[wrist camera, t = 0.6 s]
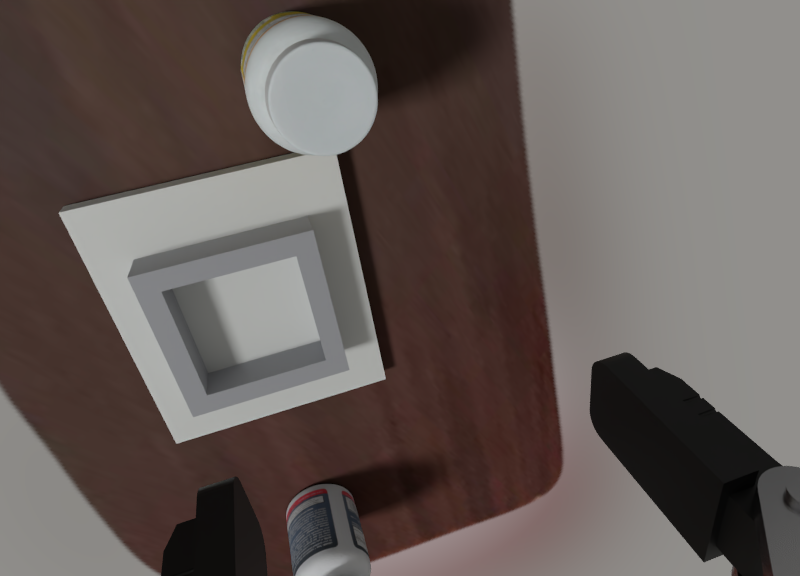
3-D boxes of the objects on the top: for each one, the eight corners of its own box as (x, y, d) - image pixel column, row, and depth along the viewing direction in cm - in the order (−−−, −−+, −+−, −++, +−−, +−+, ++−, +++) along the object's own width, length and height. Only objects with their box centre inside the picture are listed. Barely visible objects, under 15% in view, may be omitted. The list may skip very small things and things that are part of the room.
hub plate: (63, 206, 28) (45, 228, 25) (332, 143, 30) (342, 158, 27) (177, 433, 36) (173, 469, 33) (382, 370, 38) (394, 399, 35)
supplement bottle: (230, 15, 26) (232, 22, 18) (341, 7, 27) (391, 10, 19) (252, 130, 28) (262, 183, 20) (352, 118, 30) (400, 164, 21)
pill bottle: (276, 527, 42) (286, 643, 34) (299, 477, 40) (316, 588, 33) (338, 533, 44) (362, 643, 37) (364, 485, 42) (393, 590, 35)
